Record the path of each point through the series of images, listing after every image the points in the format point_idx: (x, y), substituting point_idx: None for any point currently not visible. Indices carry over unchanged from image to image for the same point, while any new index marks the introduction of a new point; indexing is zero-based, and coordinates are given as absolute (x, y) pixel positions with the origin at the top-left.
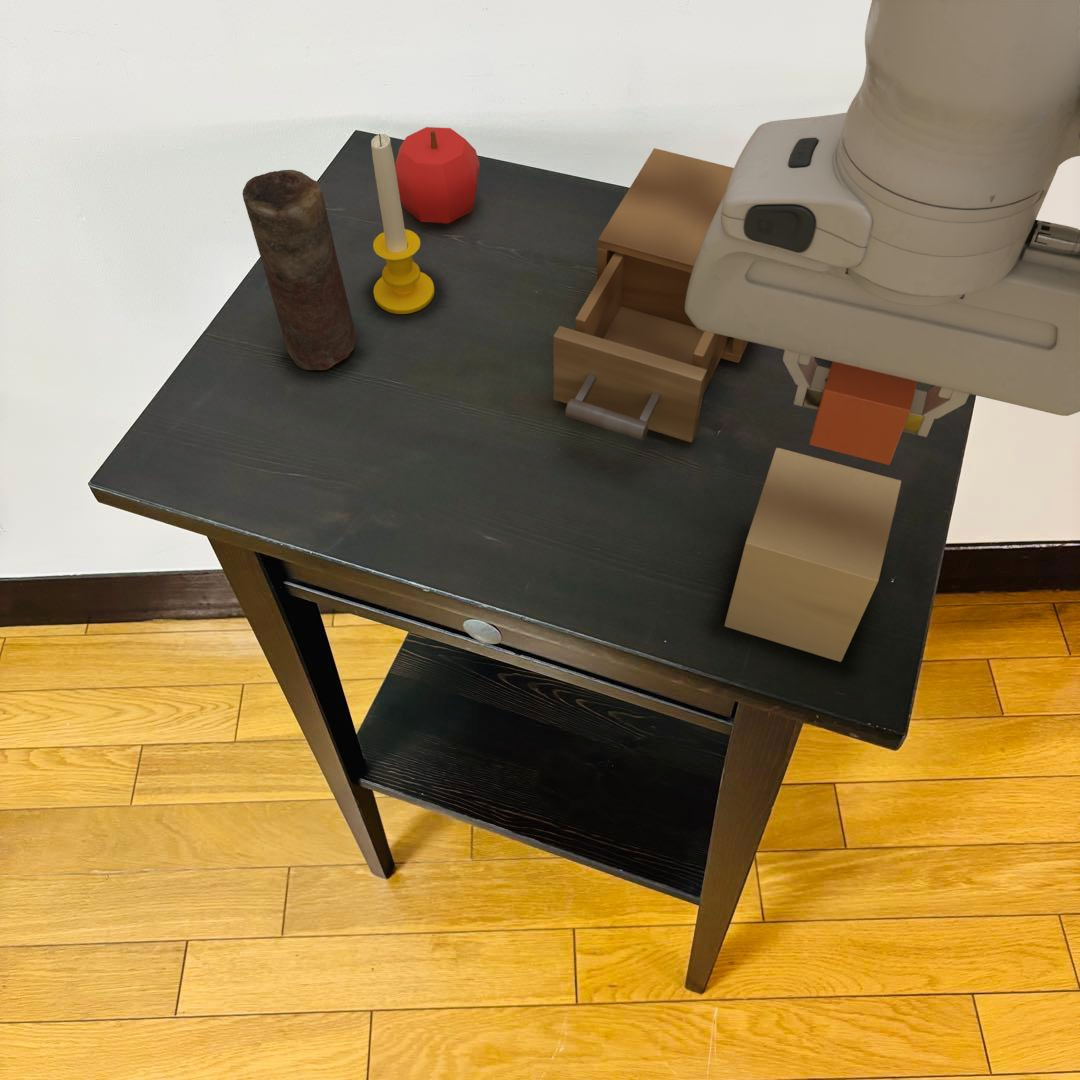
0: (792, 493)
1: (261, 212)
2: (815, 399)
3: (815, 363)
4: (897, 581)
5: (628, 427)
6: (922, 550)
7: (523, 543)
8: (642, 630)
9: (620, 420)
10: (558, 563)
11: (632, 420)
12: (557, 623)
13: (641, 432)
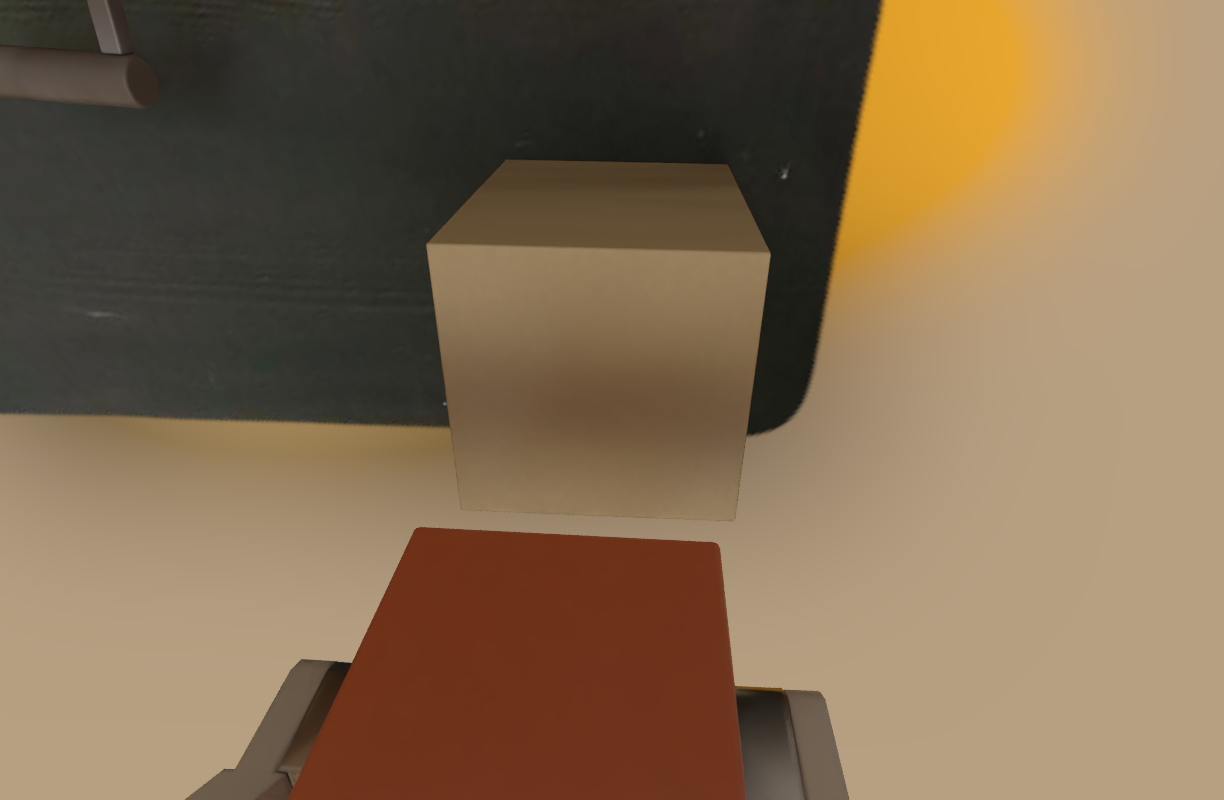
0: (511, 374)
1: None
2: None
3: (272, 795)
4: (794, 172)
5: (97, 99)
6: (846, 73)
7: (151, 307)
8: (406, 397)
9: (64, 90)
10: (226, 326)
11: (88, 79)
12: (289, 420)
13: (133, 105)
